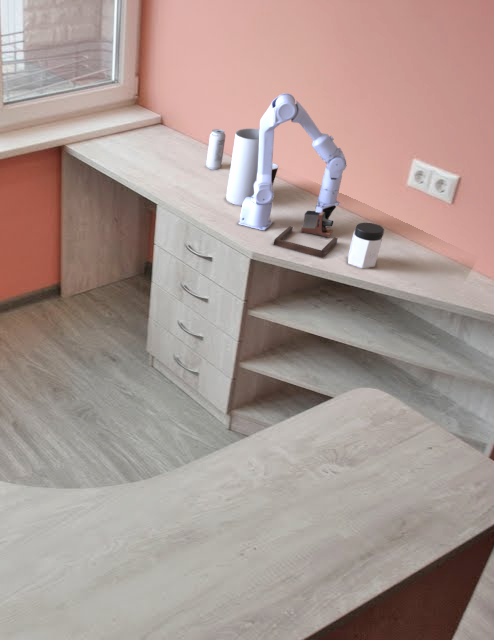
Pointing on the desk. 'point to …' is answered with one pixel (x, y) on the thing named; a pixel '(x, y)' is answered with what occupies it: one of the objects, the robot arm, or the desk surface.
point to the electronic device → (316, 224)
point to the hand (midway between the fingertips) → (321, 225)
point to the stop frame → (300, 248)
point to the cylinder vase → (243, 166)
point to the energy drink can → (215, 149)
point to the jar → (365, 245)
